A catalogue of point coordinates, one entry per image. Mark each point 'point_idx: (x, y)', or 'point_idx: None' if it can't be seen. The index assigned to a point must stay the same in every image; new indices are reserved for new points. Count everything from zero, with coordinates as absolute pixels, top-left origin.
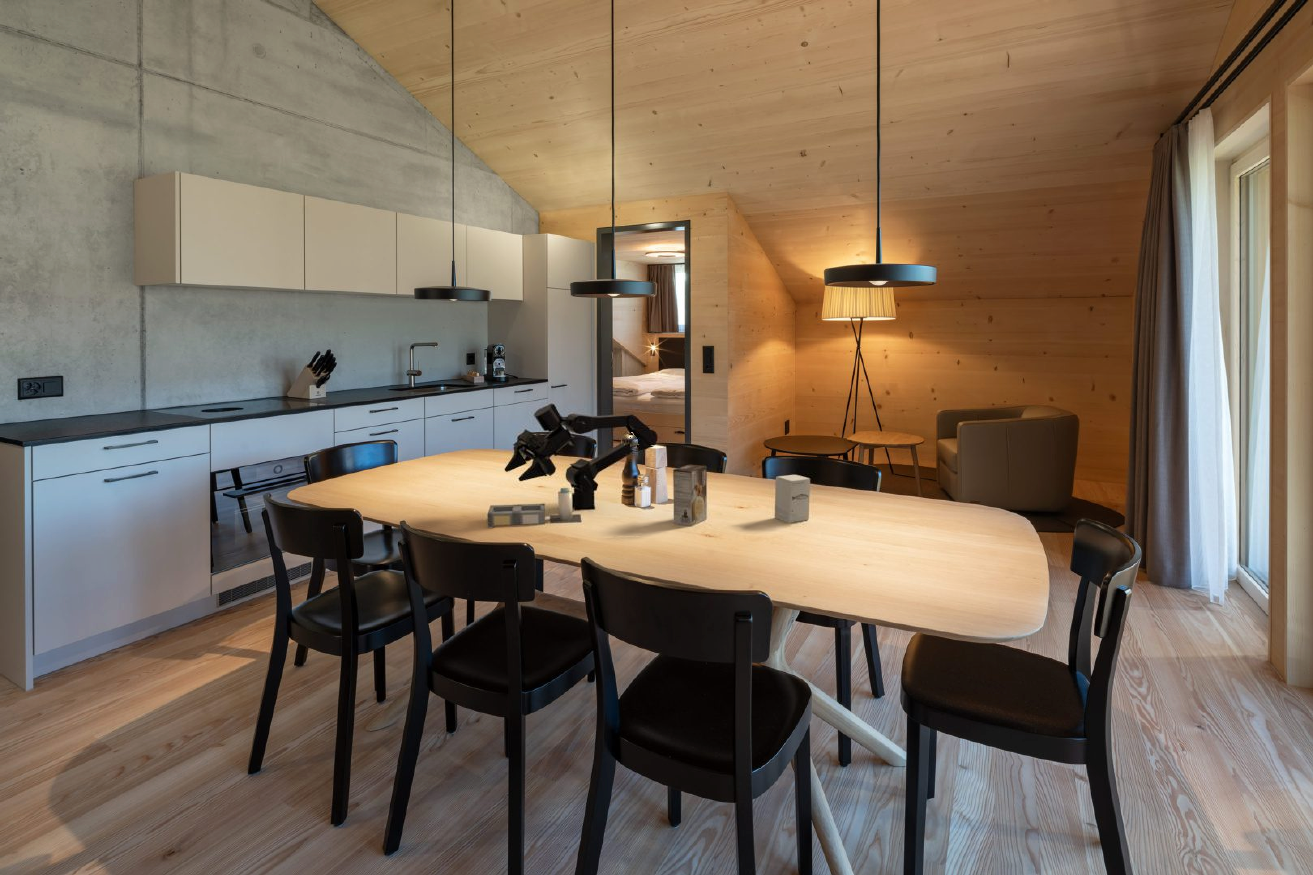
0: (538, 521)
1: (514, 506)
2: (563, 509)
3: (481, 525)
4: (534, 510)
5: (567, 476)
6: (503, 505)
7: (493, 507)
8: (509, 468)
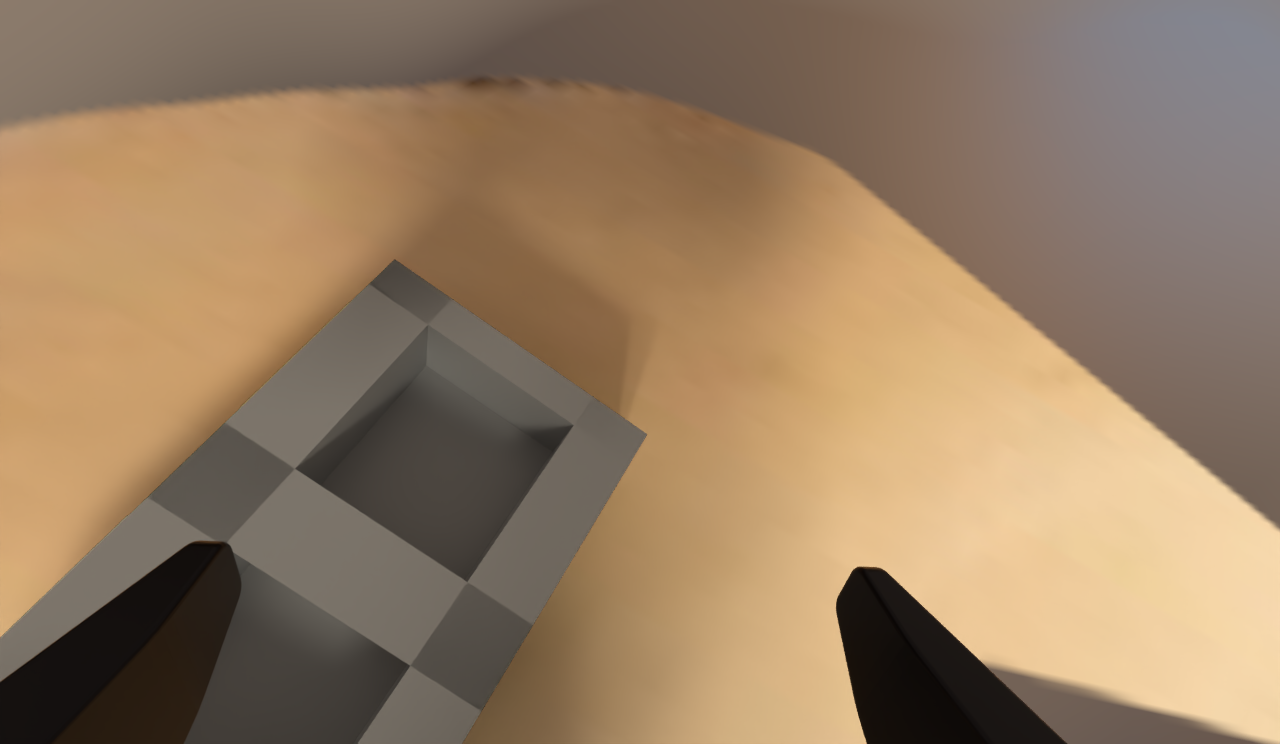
0: None
1: (453, 589)
2: None
3: (489, 318)
4: None
5: None
6: (570, 522)
7: (563, 414)
8: (876, 674)
